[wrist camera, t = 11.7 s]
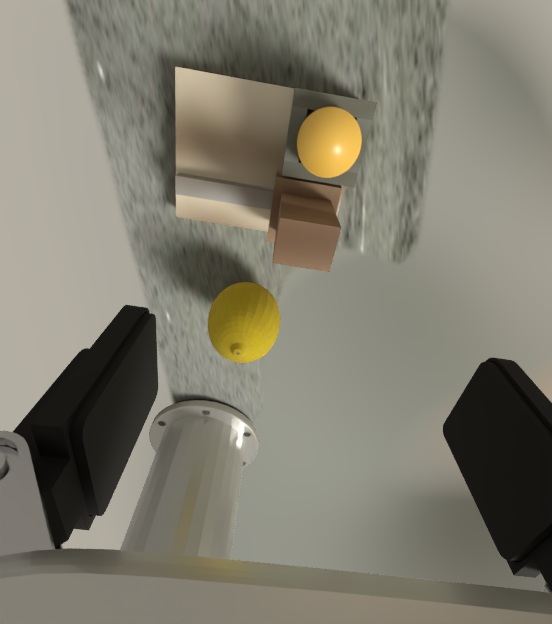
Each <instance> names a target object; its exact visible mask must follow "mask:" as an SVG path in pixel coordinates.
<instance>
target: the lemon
mask: <svg viewBox="0 0 552 624" xmlns="http://www.w3.org/2000/svg"><path fill="white" fill-rule="evenodd" d="M279 328H280V312H279V308H278V305H277V302H276V301H275V299H274V297H273V295H272V294H271V293H270V292H269V291H268V290H267V289H265V288H264V287H262V286H260V285H258V284H255V283H250V282H241V283H236V284H233V285H230V286H228V287H227V288H226V289H224V290H223V291H222V292H221V293H220V294H219V295H218V296H217V298H216V299H215V300H214V302H213V304H212V307H211V309H210V312H209V318H208V332H209V336H210V340H211V343H212V344H213V346H214V348H215V349H216V350H217V352H218V353H219V354H220V355H222V356H223V357H225V358H226V359H229V360H231V361H234V362H239V363H246V362H251V361H255V360H257V359H259V358H261V357H262V356H264V355H265V354H266V353H267V352H268V351H269V350H270V348H271V347H272V346H273V344H274V342H275V340H276V337H277V335H278V332H279Z"/></svg>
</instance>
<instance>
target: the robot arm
mask: <svg viewBox="0 0 552 624" xmlns="http://www.w3.org/2000/svg"><path fill="white" fill-rule="evenodd" d="M157 391H158V371H157V342H156V318H155V315H154V314H149V310H148V308H144V307H137V306H130V305H125V306H124V307H123V308H122V309H121V310H120V312H119V313H118V314H117V315H116V317H115V318H114V319H113V320H112V322H111V323H110V324H109V325H108V327H107V328H106V329H105V330H104V332H103V333H102V334H101V335H100V337H99V338H98V339H97V340H96V342H95V343H94V344H93V345H92V347H91V348H90V349H83V350H82V351H81V352H79V353H78V354H77V356H76V357H75V358H74V359H73V360H72V361H71V363H70V364H69V365H68V366H67V367H66V369H65V370H64V371H63V372H62V373H61V375H60V376H59V377H58V378H57V379H56V381H55V382H54V383H53V384H52V385H51V387H50V388H49V389H48V390H47V392H46V393H45V394H44V395H43V396H42V398H41V399H40V400H39V401H38V402H37V403H36V405H35V406H34V407H33V408H32V409H31V411H30V412H29V413H28V414H27V415H26V417H25V418H24V419H23V420H22V422H21V423H20V424H19V425H18V426H17V428H16V429H15V430H14V431H13V432H8V431H0V624H552V403H551V402H550V401H549V399H548V398H547V397H546V396H545V395H544V394H543V393H542V392H541V390H540V389H539V388H538V387H537V386H536V385H535V384H534V382H533V381H532V380H531V379H530V378H529V377H528V376H527V375H526V373H525V372H524V371H523V370H522V369H521V368H520V367H519V365H518V364H517V363H515V362H514V361H512V360H506V359H498V358H489V359H488V360H486V362H483V363H481V364H480V365H479V367H478V369H477V370H476V372H475V373H474V375H473V377H472V379H471V380H470V382H469V383H468V385H467V387H466V388H465V390H464V392H463V393H462V395H461V397H460V398H459V400H458V401H457V403H456V405H455V406H454V408H453V410H452V411H451V413H450V415H449V416H448V418H447V419H446V421H445V423H444V425H443V434H444V437H445V439H446V441H447V443H448V445H449V447H450V449H451V452H452V454H453V456H454V458H455V460H456V462H457V464H458V466H459V469H460V471H461V473H462V475H463V477H464V479H465V481H466V484H467V486H468V488H469V490H470V492H471V494H472V496H473V498H474V501H475V503H476V505H477V507H478V509H479V511H480V513H481V515H482V518H483V520H484V522H485V524H486V526H487V528H488V530H489V532H490V535H491V537H492V539H493V541H494V543H495V545H496V547H497V549H498V551H499V553H500V555H501V556H502V557H503V558H504V559H506V560H507V562H508V564H509V566H510V568H511V570H512V572H513V575H516V576H525V577H536V576H538V575H539V574H540V573H541V574H542V575H543V577H544V579H545V581H546V583H545V587H544V592H538V591H529V590H520V589H511V588H502V587H493V586H484V585H474V584H465V583H456V582H455V583H454V582H446V581H437V580H427V579H416V578H408V577H398V576H389V575H379V574H369V573H359V572H350V571H340V570H331V569H320V568H310V567H299V566H290V565H280V564H270V563H260V562H250V561H240V560H231V552H232V545H233V537H234V529H235V521H236V513H237V505H238V498H239V489H240V482H241V474H242V469H243V468H244V467H246V466H247V465H249V464H250V463H251V462H252V461H253V459H254V458H255V456H256V454H257V451H258V443H259V439H258V433H257V431H256V428H255V427H254V425H253V424H252V422H251V421H250V420H249V419H248V418H247V417H246V416H245V415H243V414H242V413H240V412H238V411H237V410H235V409H233V408H231V407H229V406H227V405H223V404H220V403H217V402H211V401H205V400H191V401H183V402H179V403H175V404H173V405H170V406H168V407H166V408H165V409H163V410H162V411H161V412H160V413H159V414H158V415H157V416H156V417H155V419H154V421H153V424H152V426H151V429H150V433H149V436H150V442H151V444H152V447H153V448H154V450H155V451H156V455H155V457H154V460H153V463H152V466H151V468H150V471H149V474H148V476H147V479H146V482H145V484H144V487H143V490H142V492H141V495H140V498H139V500H138V503H137V506H136V509H135V511H134V514H133V517H132V519H131V522H130V525H129V527H128V530H127V533H126V535H125V539H124V541H123V544H122V546H121V549H120V550H106V549H105V550H104V549H63V547H62V544H63V543H64V542H66V541H67V540H68V539H69V537H70V535H71V533H72V531H73V529H82V530H89V528H90V527H91V524H92V522H93V520H94V518H95V516H96V515H97V516H102V515H103V514H104V512H105V511H106V509H107V507H108V504H109V502H110V500H111V498H112V495H113V493H114V490H115V489H116V486H117V484H118V482H119V479H120V477H121V475H122V473H123V471H124V468H125V466H126V464H127V462H128V459H129V457H130V455H131V452H132V450H133V448H134V445H135V443H136V441H137V439H138V437H139V434H140V432H141V430H142V428H143V425H144V423H145V421H146V419H147V416H148V414H149V412H150V410H151V407H152V405H153V403H154V401H155V398H156V395H157Z"/></svg>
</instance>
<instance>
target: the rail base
mask: <svg viewBox="0 0 552 624" xmlns="http://www.w3.org/2000/svg"><path fill="white" fill-rule="evenodd" d="M376 104H377V103H376V102H371V101H365V100H360V99H355V98H349V97H344V96H338V95H333V94H328V93H322V92H317V91H311V90H306V89H300V88H289V87H284V86H278V85H273V84H267V83H262V82H257V81H251V80H246V79H240V78H235V77H229V76H224V75H219V74H213V73H208V72H202V71H197V70H192V69H186V68H181V67H175V110H176V175H175V194H176V217H181V218H187V219H194V220H200V221H206V222H212V223H218V224H225V225H231V226H237V227H243V228H249V229H256V230H262V231H268V227H269V220H270V214H271V207H272V200H273V193H274V186H275V179H276V173H277V171H282V175H283V176H288V177H294V178H300V179H306V180H312V181H318V182H324V183H330V184H335V185H341V187H342V191H341V195H340V199H339V203H338V207H337V211H336V216H337V214H338V210H339V206H340V202H341V198H342V195H343V191H344V187H345V186H347V187H353V188H354V186H355V183H356V179H357V175H358V171H359V168H360V164H361V160H362V157H363V153H364V149H365V145H366V142H367V138H368V134H369V131H370V127H371V123H372V119H373V116H374V112H375V108H376ZM329 106H331V107H337V108H341V109H343V110H345V111H347V112H349V113H350V114H351V115H352V116H353V117H354V118H355V120H356V121H357V123H358V125H359V127H360V131H361V137H362V142H361V149H360V152H359V155H358V157H357V159H356V161H355V162H354V164H353V165H352V166H351V167H350V168H349V169H348V170H347V171H346V172H344V173H343V174H341V175H339V176H336V177H331V178H322V177H318V176H316V175H314V174H312V173H310V172H309V171H308V170H307V169H306V168H305V167H304V166H303V164H302V162H301V160H300V158H299V155H298V149H297V136H298V132H299V129H300V127H301V125H302V123H303V122H304V120H305V119H306V118H307V117H308V116H309V115H310V114H311V113H312V112H314V111H315V110H317V109H319V108H322V107H329Z"/></svg>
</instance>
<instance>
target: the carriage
mask: <svg viewBox="0 0 552 624" xmlns="http://www.w3.org/2000/svg"><path fill="white" fill-rule="evenodd" d="M341 191H342V187H341V185H335V184H330V183H324V182H318V181H312V180H306V179H300V178H294V177H288V176H283V175H282V171H277V173H276V179H275V186H274V193H273V200H272V207H271V214H270V220H269V227H268V234H267V241H270V242H275V245H274V254H273V263H276V264H282V265H289V266H295V267H301V268H308V269H314V270H321V271H327V272H329V271H330V267H331V264H332V260H333V256H334V253H335V249H336V245H337V241H338V237H339V234H340V230H341V226H340V223H339V221H338V218H337V216H336V211H337V207H338V203H339V199H340V195H341Z"/></svg>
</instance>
